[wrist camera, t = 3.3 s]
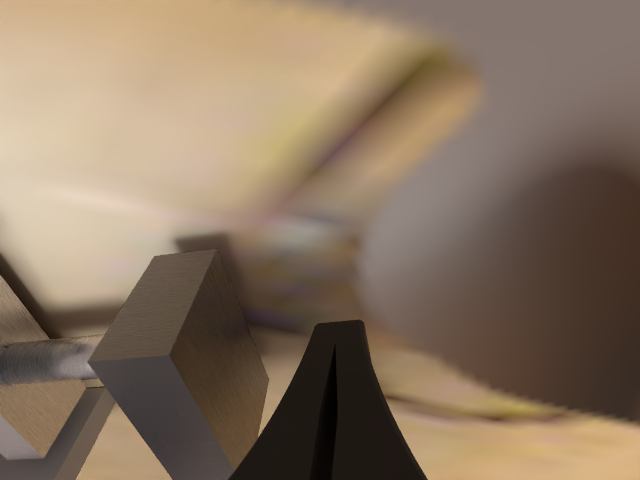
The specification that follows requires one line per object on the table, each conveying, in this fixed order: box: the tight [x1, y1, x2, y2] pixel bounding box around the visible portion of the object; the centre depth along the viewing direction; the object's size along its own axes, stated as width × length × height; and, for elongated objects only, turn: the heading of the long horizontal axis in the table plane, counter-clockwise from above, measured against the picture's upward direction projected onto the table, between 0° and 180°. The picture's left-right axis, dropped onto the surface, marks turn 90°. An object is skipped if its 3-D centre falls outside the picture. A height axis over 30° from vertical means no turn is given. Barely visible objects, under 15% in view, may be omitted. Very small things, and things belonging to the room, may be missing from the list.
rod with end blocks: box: [0, 248, 269, 480], centre depth 14 cm, size 7×10×4 cm
